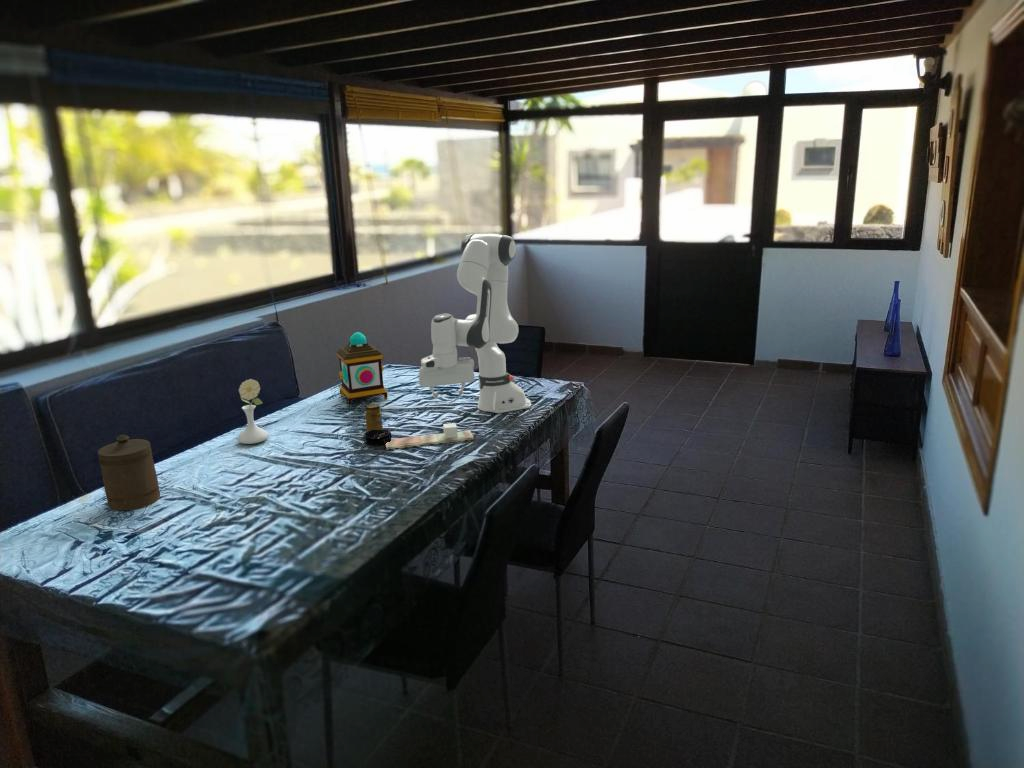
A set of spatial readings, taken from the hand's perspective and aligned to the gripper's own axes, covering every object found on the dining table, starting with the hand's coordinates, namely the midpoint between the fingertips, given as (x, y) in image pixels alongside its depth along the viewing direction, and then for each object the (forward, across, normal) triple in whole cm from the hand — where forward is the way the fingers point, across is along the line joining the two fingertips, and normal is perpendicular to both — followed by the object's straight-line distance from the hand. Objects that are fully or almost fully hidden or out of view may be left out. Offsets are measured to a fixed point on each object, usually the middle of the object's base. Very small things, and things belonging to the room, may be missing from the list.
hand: (448, 395), depth 272 cm
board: (+17, +8, 0) cm, 19 cm away
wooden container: (+16, +104, +23) cm, 108 cm away
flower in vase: (+17, +72, -21) cm, 77 cm away
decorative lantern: (+17, +30, -64) cm, 73 cm away
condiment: (+17, +27, -12) cm, 34 cm away
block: (+15, 0, 0) cm, 16 cm away
